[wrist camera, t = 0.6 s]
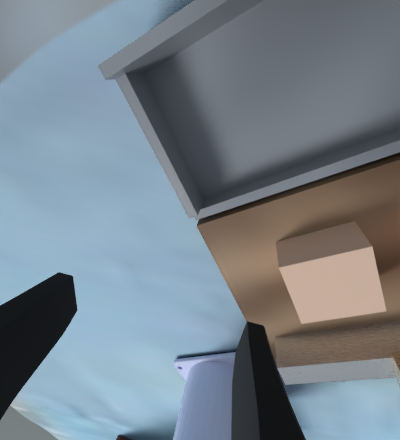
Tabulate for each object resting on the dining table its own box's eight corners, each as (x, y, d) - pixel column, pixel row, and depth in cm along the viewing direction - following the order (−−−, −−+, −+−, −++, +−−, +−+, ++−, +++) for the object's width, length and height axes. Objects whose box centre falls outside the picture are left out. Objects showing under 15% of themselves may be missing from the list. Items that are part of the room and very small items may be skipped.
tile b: (368, 279, 16) (386, 311, 14) (295, 293, 18) (301, 323, 16) (354, 221, 14) (372, 246, 12) (275, 242, 16) (278, 267, 14)
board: (564, 299, 17) (609, 331, 15) (267, 338, 24) (269, 364, 22) (598, 70, 12) (677, 69, 9) (203, 208, 19) (196, 225, 16)
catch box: (599, 65, 11) (748, 59, 8) (201, 205, 18) (190, 234, 15) (648, -259, 8) (952, -517, 4) (133, 68, 15) (97, 65, 12)
